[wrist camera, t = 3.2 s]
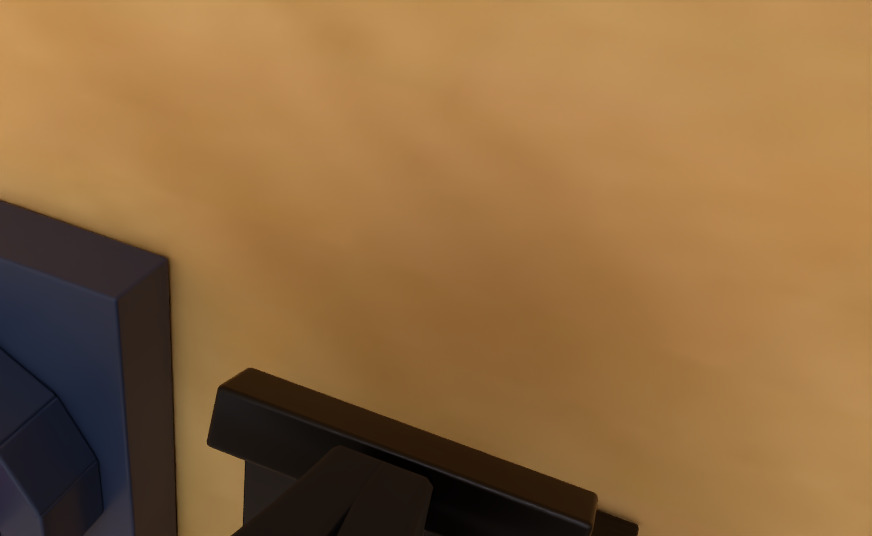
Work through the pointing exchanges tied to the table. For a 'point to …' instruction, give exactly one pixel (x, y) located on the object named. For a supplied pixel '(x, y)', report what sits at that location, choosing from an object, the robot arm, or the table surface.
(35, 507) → the button box
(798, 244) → the table surface
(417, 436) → the lever
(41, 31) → the table surface
